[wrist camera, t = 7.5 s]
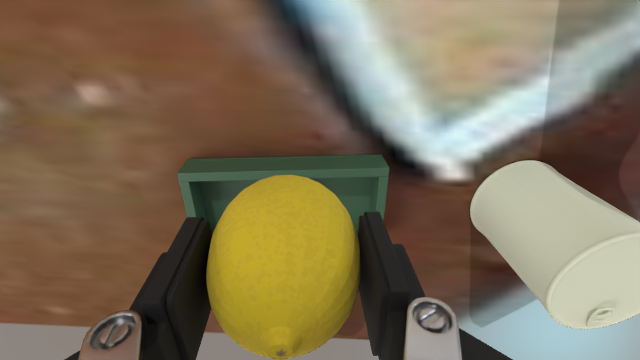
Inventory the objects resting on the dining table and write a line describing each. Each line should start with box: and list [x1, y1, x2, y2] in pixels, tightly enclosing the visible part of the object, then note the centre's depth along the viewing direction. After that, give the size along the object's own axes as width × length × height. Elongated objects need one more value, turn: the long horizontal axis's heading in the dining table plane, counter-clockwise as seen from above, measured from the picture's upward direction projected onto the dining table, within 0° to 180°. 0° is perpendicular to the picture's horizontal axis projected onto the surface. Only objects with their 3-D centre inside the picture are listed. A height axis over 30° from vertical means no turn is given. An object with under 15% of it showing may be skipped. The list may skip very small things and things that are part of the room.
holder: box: [177, 154, 389, 236], centre depth 29 cm, size 9×17×3 cm, turn 90°
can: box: [470, 160, 640, 329], centre depth 27 cm, size 9×9×12 cm
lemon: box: [206, 175, 360, 360], centre depth 12 cm, size 6×6×8 cm
